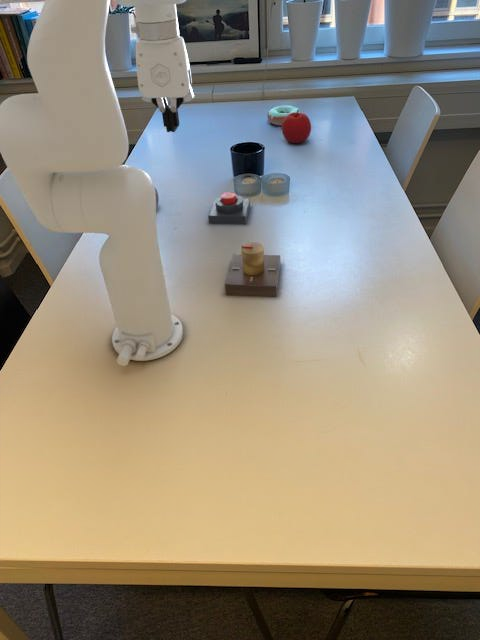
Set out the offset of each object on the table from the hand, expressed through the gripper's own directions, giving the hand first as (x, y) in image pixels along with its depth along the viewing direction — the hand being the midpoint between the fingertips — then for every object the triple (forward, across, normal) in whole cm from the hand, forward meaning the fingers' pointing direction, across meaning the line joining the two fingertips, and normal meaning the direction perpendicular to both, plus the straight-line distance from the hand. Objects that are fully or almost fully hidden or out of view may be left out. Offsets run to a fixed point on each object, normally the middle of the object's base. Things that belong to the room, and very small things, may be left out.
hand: (172, 129), depth 104 cm
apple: (+23, +24, +56) cm, 65 cm away
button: (+19, +10, +6) cm, 23 cm away
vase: (+23, -12, +8) cm, 27 cm away
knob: (+21, +19, -21) cm, 35 cm away
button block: (+23, +10, +6) cm, 26 cm away
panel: (+23, +19, -21) cm, 37 cm away
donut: (+23, +19, +75) cm, 81 cm away
